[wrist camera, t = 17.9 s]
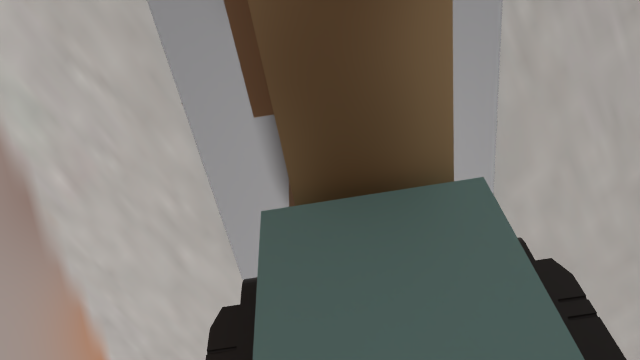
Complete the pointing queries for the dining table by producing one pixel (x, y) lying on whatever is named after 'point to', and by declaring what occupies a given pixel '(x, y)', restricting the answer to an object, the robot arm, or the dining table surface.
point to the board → (261, 132)
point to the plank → (359, 93)
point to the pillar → (249, 56)
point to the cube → (402, 281)
